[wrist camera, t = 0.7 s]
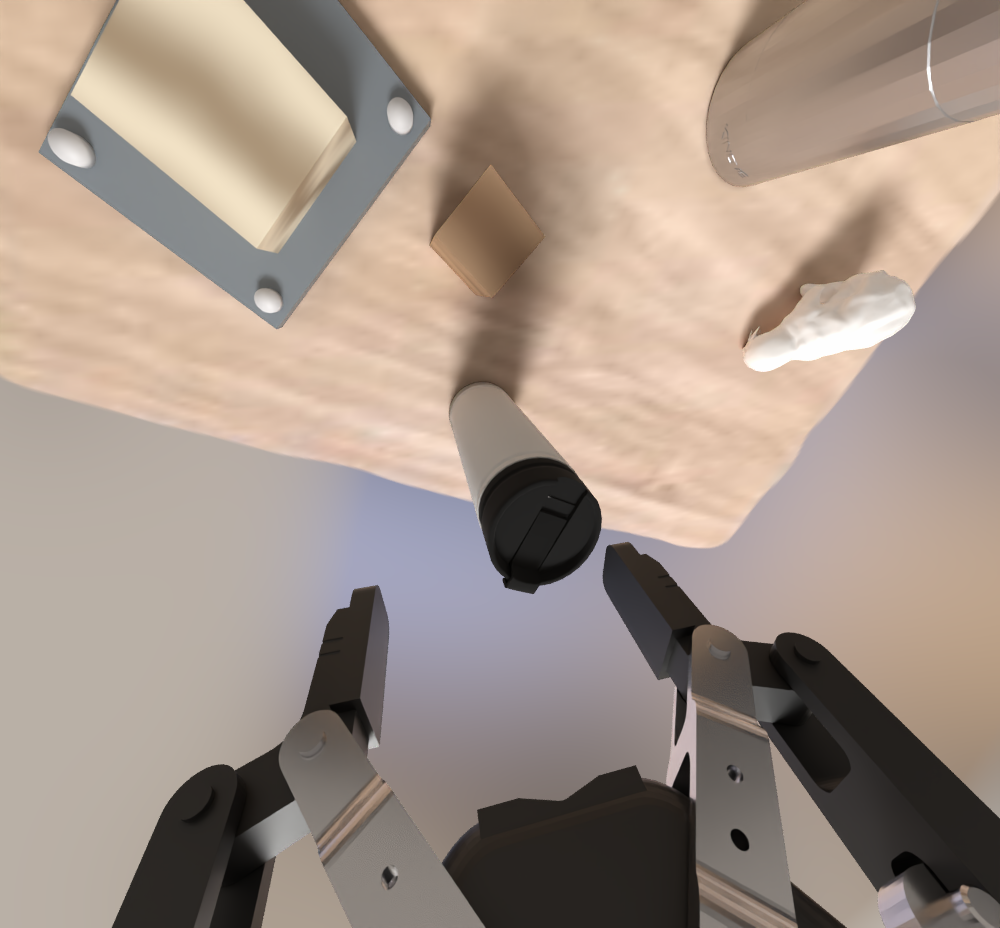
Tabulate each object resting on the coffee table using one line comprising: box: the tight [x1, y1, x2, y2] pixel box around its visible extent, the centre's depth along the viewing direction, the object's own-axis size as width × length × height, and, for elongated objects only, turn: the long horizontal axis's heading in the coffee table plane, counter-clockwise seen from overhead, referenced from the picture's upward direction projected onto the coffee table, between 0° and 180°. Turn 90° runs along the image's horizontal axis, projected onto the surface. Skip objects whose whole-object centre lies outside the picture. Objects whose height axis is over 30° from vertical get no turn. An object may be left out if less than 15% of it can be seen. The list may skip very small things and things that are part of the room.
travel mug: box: [449, 382, 602, 594], centre depth 26 cm, size 6×7×20 cm
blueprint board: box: [39, 0, 431, 329], centre depth 22 cm, size 18×14×2 cm
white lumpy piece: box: [742, 270, 916, 372], centre depth 34 cm, size 6×8×12 cm
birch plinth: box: [71, 0, 356, 253], centre depth 20 cm, size 9×9×4 cm
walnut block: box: [430, 164, 545, 298], centre depth 25 cm, size 5×5×7 cm
